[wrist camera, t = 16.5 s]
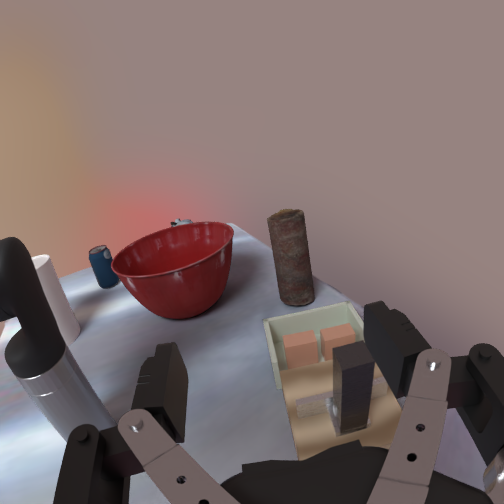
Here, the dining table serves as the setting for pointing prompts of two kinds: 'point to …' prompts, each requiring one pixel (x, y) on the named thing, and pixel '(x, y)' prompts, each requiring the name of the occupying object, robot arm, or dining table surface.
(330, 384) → the curved wooden platform
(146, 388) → the robot arm
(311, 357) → the tile
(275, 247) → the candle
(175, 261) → the mixing bowl
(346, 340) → the tile
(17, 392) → the dining table surface
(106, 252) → the soda can
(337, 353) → the dark piece
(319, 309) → the tray
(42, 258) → the canister
